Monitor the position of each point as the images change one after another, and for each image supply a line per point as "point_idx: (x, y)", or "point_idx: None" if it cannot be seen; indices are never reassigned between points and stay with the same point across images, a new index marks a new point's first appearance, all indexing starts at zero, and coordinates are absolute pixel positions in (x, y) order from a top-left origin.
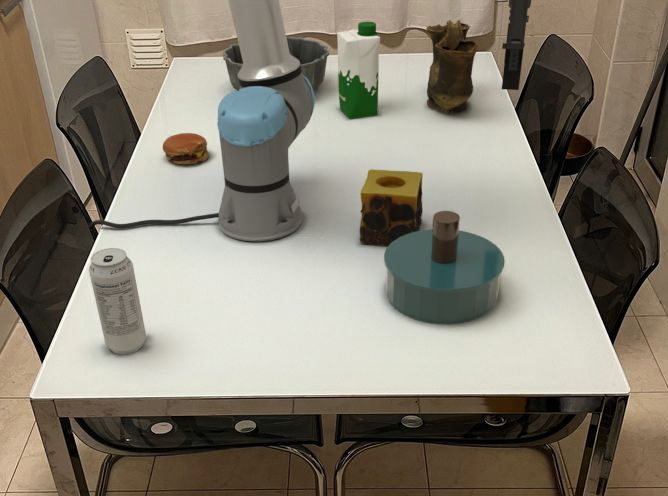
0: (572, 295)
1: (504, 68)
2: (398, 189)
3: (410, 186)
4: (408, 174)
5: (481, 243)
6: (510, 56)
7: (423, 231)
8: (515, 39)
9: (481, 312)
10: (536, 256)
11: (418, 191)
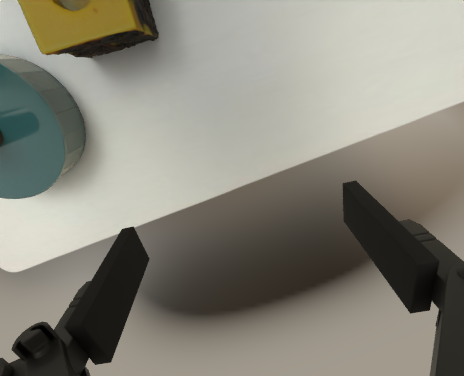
0: (102, 228)
1: (100, 269)
2: (46, 7)
3: (70, 26)
4: (113, 1)
5: (48, 164)
6: (60, 323)
7: (24, 85)
8: (378, 249)
9: None
10: (151, 189)
11: (89, 41)
